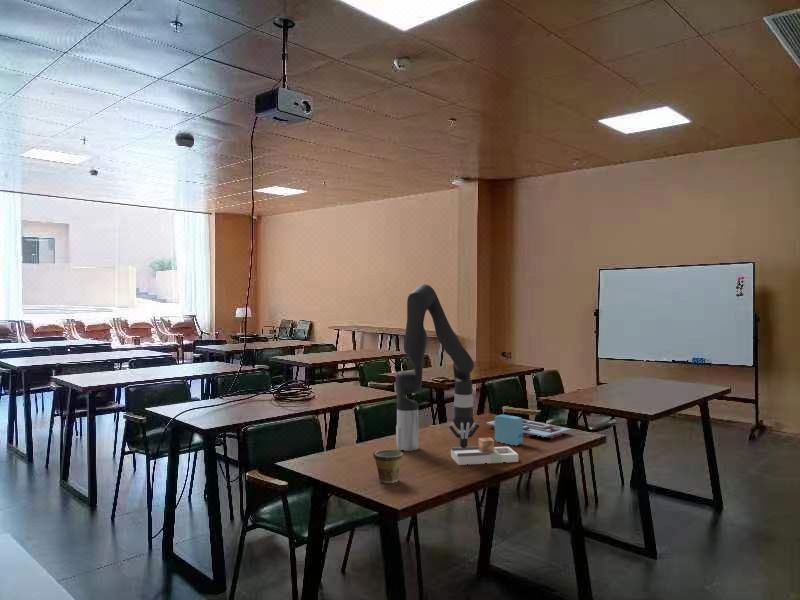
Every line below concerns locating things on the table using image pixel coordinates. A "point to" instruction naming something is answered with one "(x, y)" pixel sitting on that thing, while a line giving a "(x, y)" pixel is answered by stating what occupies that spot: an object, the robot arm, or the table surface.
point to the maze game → (538, 429)
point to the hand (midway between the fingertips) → (463, 447)
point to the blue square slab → (509, 429)
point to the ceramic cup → (388, 465)
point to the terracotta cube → (486, 445)
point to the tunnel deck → (483, 455)
